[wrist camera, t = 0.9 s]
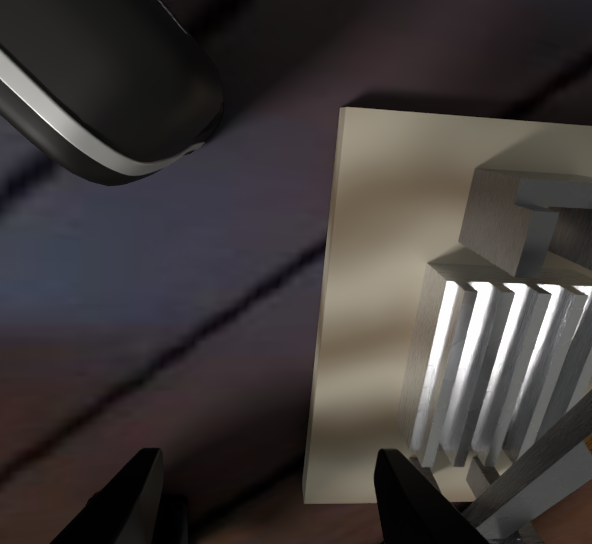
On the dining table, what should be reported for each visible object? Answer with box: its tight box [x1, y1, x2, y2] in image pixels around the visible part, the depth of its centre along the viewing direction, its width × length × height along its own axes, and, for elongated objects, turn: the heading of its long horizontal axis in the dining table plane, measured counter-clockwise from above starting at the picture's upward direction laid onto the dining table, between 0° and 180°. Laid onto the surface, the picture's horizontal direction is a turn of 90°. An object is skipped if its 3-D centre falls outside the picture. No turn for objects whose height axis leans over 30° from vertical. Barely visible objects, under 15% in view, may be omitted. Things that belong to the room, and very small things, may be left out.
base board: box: [302, 107, 592, 504], centre depth 23 cm, size 24×18×2 cm
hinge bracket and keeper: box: [409, 168, 592, 544], centre depth 19 cm, size 20×5×6 cm, turn 176°
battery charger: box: [0, 0, 224, 186], centre depth 12 cm, size 7×4×11 cm, turn 41°
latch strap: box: [461, 389, 592, 544], centre depth 17 cm, size 17×2×3 cm, turn 176°
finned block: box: [396, 263, 592, 467], centre depth 20 cm, size 10×8×4 cm
